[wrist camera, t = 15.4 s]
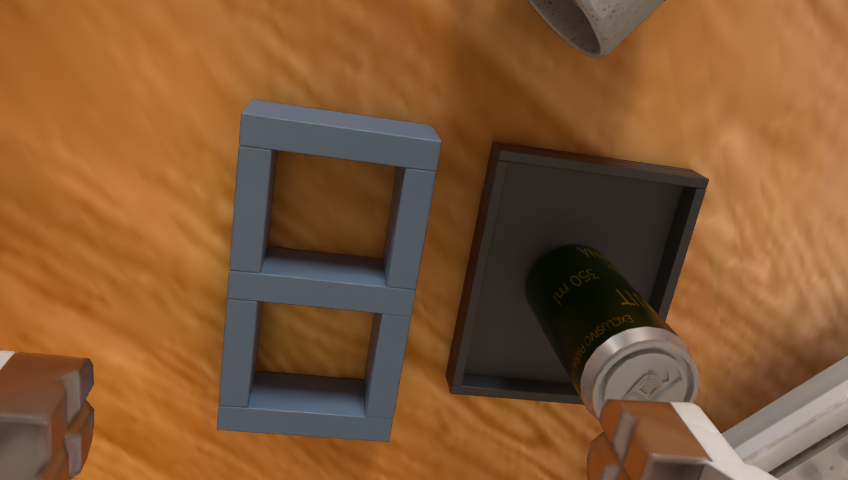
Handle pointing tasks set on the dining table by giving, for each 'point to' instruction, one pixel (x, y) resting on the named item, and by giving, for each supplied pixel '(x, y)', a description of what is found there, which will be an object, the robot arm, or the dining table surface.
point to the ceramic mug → (594, 21)
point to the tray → (547, 229)
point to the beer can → (607, 332)
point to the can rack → (322, 274)
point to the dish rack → (800, 430)
